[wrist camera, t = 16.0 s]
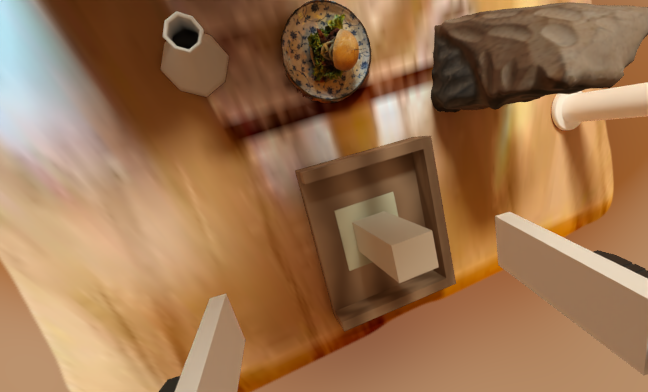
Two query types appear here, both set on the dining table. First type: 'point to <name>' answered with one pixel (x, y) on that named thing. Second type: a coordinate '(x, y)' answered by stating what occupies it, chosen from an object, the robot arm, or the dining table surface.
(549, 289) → the robot arm
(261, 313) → the dining table surface
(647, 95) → the candle
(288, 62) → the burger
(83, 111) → the dining table surface
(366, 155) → the shallow rimmed tray
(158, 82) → the dining table surface
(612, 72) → the owl
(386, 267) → the block
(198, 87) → the flask
